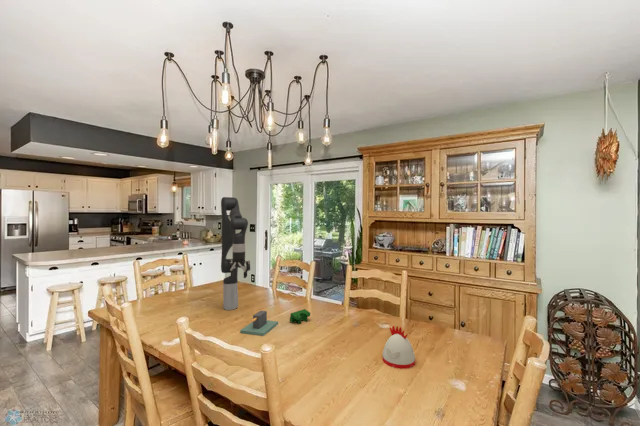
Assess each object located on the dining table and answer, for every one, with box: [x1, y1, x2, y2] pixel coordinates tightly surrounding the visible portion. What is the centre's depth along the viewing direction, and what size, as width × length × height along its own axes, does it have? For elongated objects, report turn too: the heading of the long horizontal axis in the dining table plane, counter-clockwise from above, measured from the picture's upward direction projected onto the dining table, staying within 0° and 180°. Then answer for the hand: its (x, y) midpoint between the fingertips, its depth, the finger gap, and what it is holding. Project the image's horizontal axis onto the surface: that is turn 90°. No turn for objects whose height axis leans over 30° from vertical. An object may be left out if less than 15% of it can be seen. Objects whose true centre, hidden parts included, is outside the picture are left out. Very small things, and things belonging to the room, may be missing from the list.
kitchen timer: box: [382, 325, 416, 370], centre depth 136 cm, size 14×14×15 cm
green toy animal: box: [289, 308, 311, 325], centre depth 183 cm, size 12×6×9 cm, turn 129°
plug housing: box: [251, 310, 268, 329], centre depth 171 cm, size 12×4×7 cm, turn 163°
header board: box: [239, 319, 279, 337], centre depth 173 cm, size 18×14×6 cm
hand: (238, 277), depth 189 cm, fingers open, 8 cm apart
